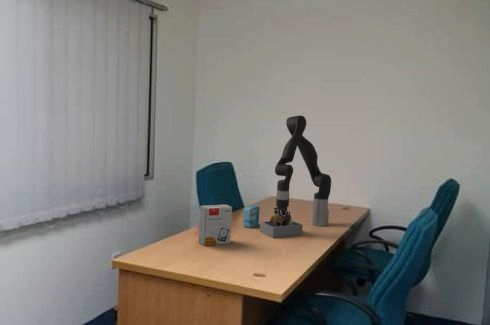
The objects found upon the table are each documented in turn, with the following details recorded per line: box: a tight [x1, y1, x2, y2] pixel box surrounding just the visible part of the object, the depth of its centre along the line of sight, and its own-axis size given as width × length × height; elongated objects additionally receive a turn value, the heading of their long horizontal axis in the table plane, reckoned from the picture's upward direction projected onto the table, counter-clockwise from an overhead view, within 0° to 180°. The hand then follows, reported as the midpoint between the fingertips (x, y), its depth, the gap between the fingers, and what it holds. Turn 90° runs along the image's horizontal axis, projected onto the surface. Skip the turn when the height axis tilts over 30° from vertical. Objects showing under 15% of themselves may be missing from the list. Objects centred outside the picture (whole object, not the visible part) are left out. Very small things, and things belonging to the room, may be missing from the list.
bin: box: [259, 219, 303, 239], centre depth 272 cm, size 20×14×6 cm
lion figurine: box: [268, 214, 292, 227], centre depth 271 cm, size 15×5×9 cm, turn 118°
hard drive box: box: [198, 204, 233, 246], centre depth 246 cm, size 16×8×20 cm, turn 117°
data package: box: [242, 205, 261, 229], centre depth 286 cm, size 12×4×12 cm, turn 149°
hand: (281, 226), depth 272 cm, fingers closed on lion figurine, 4 cm apart
